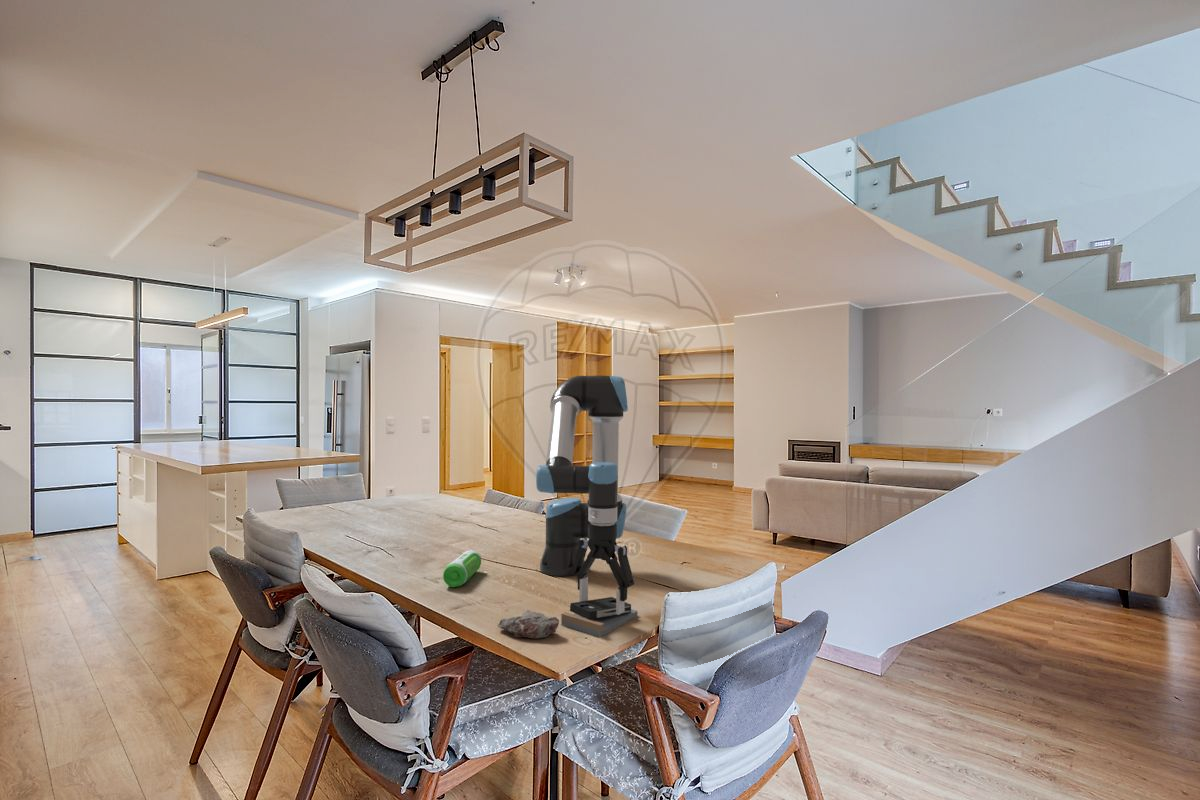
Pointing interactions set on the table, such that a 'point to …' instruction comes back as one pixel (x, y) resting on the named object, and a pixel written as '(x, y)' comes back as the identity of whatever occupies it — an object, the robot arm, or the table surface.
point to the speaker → (462, 568)
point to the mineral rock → (530, 625)
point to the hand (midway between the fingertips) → (601, 607)
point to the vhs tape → (597, 608)
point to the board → (596, 622)
